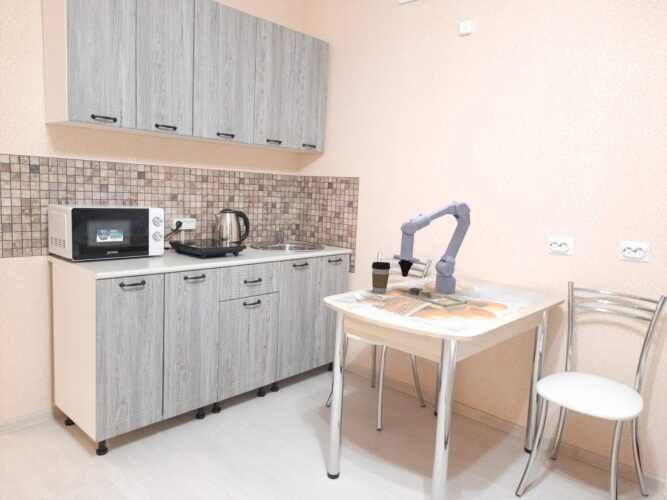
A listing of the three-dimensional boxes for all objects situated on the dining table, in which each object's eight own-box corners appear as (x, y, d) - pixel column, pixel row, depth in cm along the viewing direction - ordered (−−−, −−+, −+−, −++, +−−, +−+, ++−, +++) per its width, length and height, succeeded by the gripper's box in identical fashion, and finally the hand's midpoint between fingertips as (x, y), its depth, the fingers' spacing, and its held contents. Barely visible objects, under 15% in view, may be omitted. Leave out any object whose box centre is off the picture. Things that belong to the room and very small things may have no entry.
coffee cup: (385, 297, 224) (388, 264, 222) (367, 295, 227) (369, 262, 225) (390, 294, 232) (392, 262, 230) (372, 291, 235) (374, 260, 233)
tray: (443, 300, 226) (444, 295, 226) (465, 306, 217) (466, 301, 217) (422, 303, 217) (423, 298, 217) (444, 309, 208) (445, 304, 208)
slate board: (418, 293, 238) (418, 290, 237) (443, 300, 226) (443, 297, 226) (397, 296, 229) (397, 293, 229) (422, 303, 217) (423, 300, 217)
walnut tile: (415, 292, 232) (415, 287, 232) (422, 294, 229) (422, 289, 229) (409, 293, 230) (409, 288, 230) (416, 295, 227) (416, 290, 227)
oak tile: (424, 295, 228) (425, 289, 228) (431, 297, 225) (431, 291, 225) (418, 296, 226) (419, 290, 225) (425, 298, 223) (425, 292, 222)
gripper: (389, 245, 236) (387, 274, 238) (412, 250, 225) (410, 280, 226) (400, 245, 240) (398, 273, 242) (423, 249, 229) (420, 278, 231)
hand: (404, 276), depth 234 cm, fingers closed
